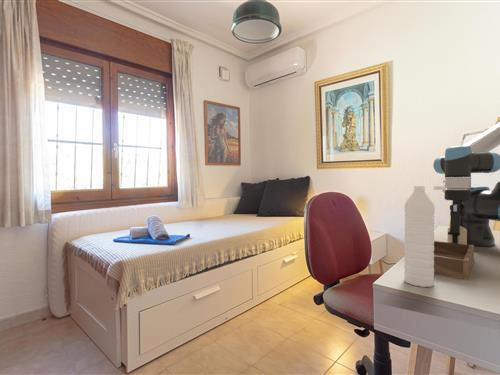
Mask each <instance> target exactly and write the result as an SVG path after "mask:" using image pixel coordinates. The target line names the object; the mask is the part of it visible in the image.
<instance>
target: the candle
mask: <svg viewBox="0 0 500 375" xmlns="http://www.w3.org/2000/svg"><path fill="white" fill-rule="evenodd" d="M454 231H455V230H454ZM448 232H450V226H449V227H447V242H450V235H449V234H448ZM460 244H466V245H467V230H466V229H465V228H463V227H462V226H460Z"/></svg>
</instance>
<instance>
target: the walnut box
mask: <svg viewBox="0 0 500 375" xmlns="http://www.w3.org/2000/svg"><path fill="white" fill-rule="evenodd" d="M474 248H475V245H466V244H458V243H450V242H448V241H441V240H434V266H433V267H434V274H433V275H439V276H444V277H451V278H456V279H460V280H465V281H469V277H470V275H471V271H472V267H473V264H474V261H475V260H474V259H475V258H474V256H475V252H474V251H475V250H474Z"/></svg>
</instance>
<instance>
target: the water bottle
mask: <svg viewBox="0 0 500 375" xmlns="http://www.w3.org/2000/svg"><path fill="white" fill-rule="evenodd" d="M425 188H426V187H425V186H423V185H422V186H421V185H420V186H418V185H417V186H413V192H412V193H411V194H410V196H409V197H408V198H407V199H406V201H405V204H404V265H403V266H404V277H403V278H404V280H403V281H405V283H407V284H410V285H412V286H416V287H421V288H427V287H428V288H430V287H433V286H434V285H435V276H434V275H435V274H434V267H433V266H434V241H435V208H436V207H435V204H434V203H435V202H434V201H432V199H431V198H430V196H429V195H428V194H427V193H426V189H425ZM437 190H438V191H439V190H440V191H445V190H447V188H446V186H445V185H433V191H437Z"/></svg>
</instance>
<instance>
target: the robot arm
mask: <svg viewBox="0 0 500 375" xmlns="http://www.w3.org/2000/svg"><path fill="white" fill-rule="evenodd" d="M498 146H500V119H499V120H497V121H496V122H495V124H494V126H492V127H490V128H489V129H487V130H486V131H484V132H483V133H481V134H480V135H478V136H476V137H475V138H473V139H471V140H470V141H468V142H467V143H465V144H463V145H456V146H450V147H447V148H446V149H445V151H444V155H442V156H439V157H437V158H435V159H434V161H433V170H434V172H436V173H437V174H440V175H444V180H442V183H444V186H446V188H445V189H446V190H444V200H445V201H451V202H452V203H451V205H449V210H450V212H449V213H450V214H449V215H450V221H449V222H450V224H449V227H450V232H448V231H447V235H448V234H449V235H450V243H458V244H460V226H462V227H463V228H465V229H466V230H467V245H474V246H479V247H486V246H487V247H489V246H490V247H491V246H495V241H496V240H495V237H494V235H493V232H492V230H491V227H490V221H496V222H500V180H499V181H498V182H496V184H495V185H494V187H493V189H490V187H489V186H473V187H472V174H489V173H492V174H493V173H496V172H498V171H499V170H500V154H499V153H496V152H491V151H492V150H494V149H495V148H497V147H498ZM454 230H455V231H454Z"/></svg>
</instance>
